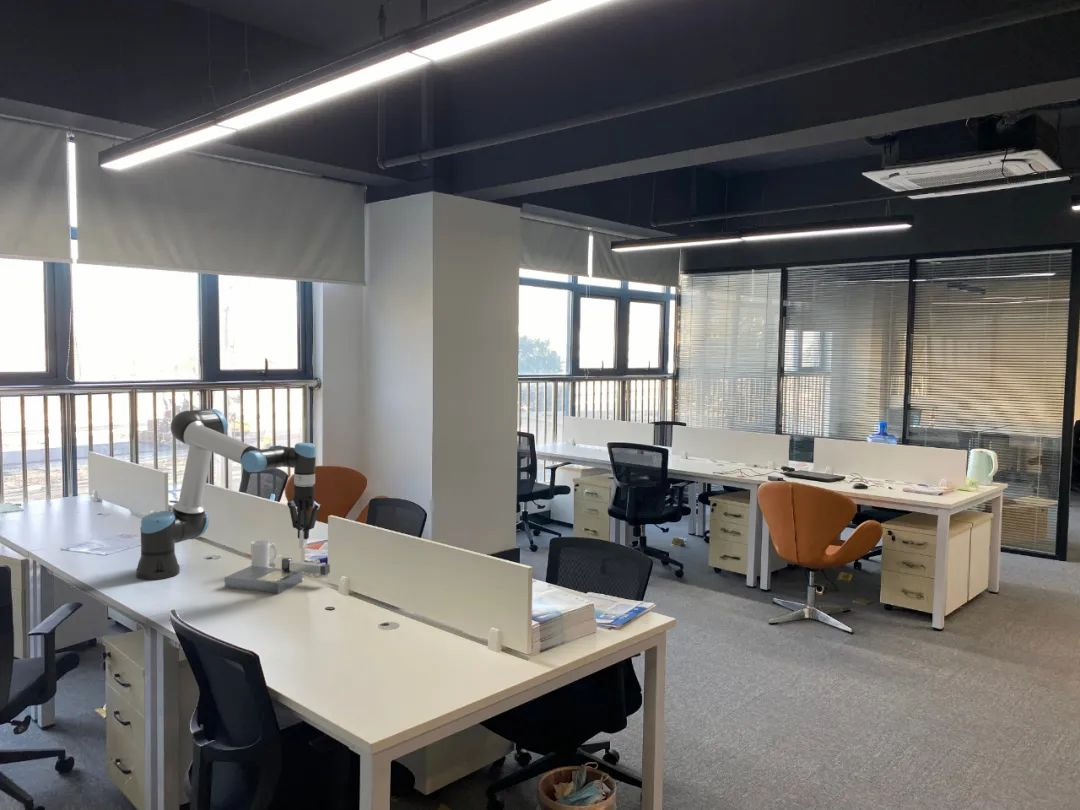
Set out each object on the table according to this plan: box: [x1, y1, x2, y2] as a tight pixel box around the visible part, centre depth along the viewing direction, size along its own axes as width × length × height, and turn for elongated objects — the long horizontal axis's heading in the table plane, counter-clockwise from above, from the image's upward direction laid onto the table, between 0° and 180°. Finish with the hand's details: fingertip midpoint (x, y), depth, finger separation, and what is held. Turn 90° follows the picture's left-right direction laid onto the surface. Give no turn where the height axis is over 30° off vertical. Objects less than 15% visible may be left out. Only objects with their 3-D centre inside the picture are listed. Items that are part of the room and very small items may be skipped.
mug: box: [250, 539, 278, 568], centre depth 305 cm, size 10×7×12 cm, turn 133°
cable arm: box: [281, 557, 331, 576], centre depth 291 cm, size 19×4×4 cm, turn 74°
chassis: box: [224, 565, 303, 595], centre depth 288 cm, size 22×16×4 cm
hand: (303, 547), depth 288 cm, fingers closed
